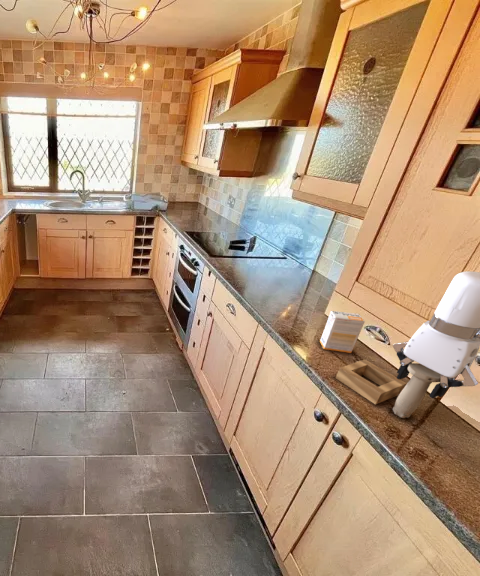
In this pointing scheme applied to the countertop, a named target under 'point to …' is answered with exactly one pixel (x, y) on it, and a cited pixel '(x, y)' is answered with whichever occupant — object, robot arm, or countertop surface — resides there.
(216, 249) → the countertop surface
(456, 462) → the countertop surface
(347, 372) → the socket block
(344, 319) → the supplement box
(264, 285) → the countertop surface
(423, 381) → the handle
